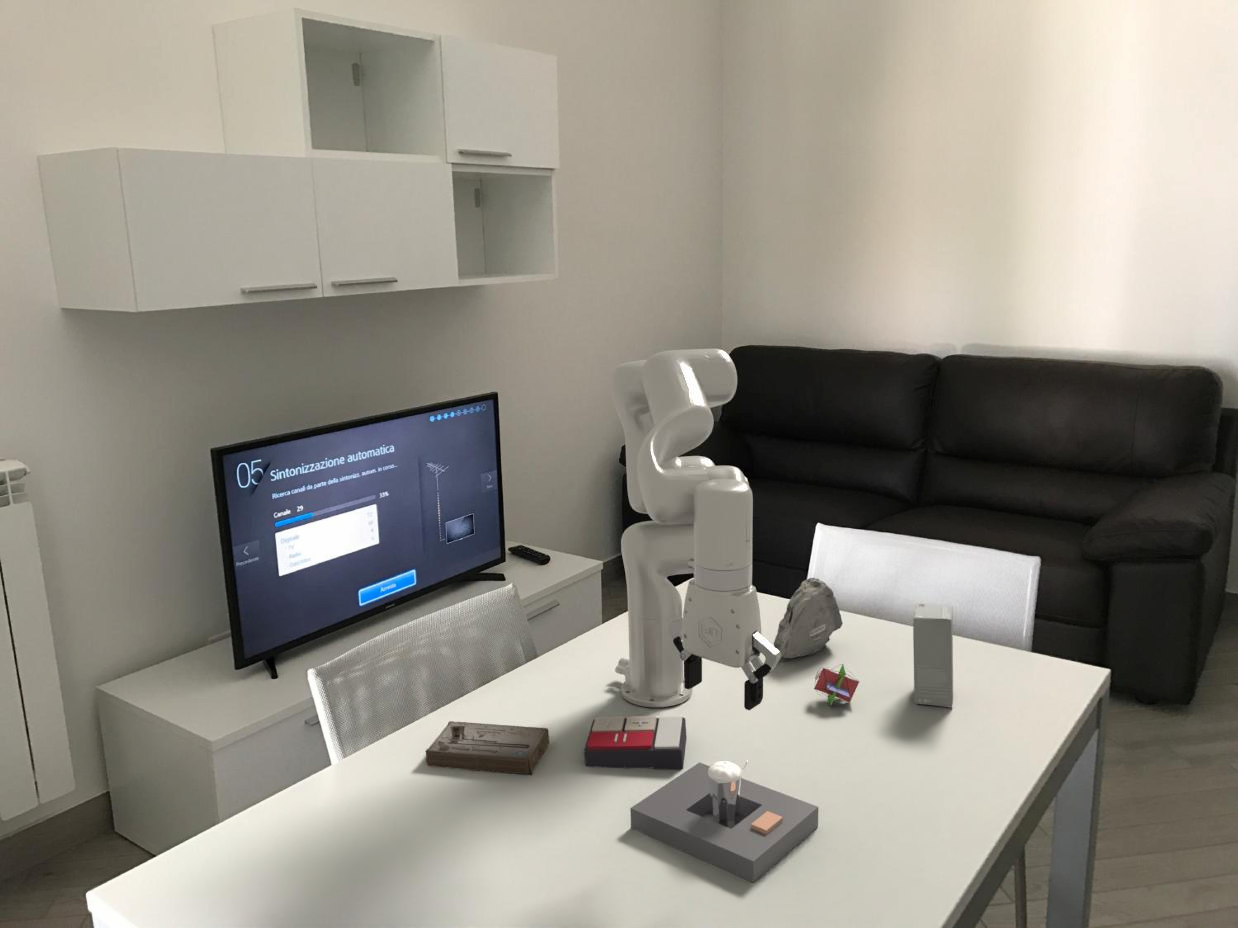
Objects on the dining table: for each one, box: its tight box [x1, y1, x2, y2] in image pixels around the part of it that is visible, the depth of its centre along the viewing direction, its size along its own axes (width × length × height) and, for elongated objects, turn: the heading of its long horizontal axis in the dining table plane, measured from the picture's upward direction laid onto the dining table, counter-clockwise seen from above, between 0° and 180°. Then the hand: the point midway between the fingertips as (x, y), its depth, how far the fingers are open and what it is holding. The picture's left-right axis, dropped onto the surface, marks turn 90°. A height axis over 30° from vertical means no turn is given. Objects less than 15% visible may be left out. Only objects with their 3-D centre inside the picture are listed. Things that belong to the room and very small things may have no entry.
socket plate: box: [629, 762, 819, 883], centre depth 141 cm, size 20×16×4 cm
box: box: [425, 720, 550, 775], centre depth 163 cm, size 11×17×3 cm, turn 77°
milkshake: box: [708, 760, 749, 829], centre depth 140 cm, size 4×5×10 cm
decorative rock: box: [773, 577, 843, 659], centre depth 198 cm, size 16×7×15 cm, turn 124°
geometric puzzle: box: [813, 663, 860, 708], centre depth 177 cm, size 7×7×8 cm
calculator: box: [583, 715, 687, 771], centre depth 162 cm, size 11×4×15 cm
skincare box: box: [912, 603, 954, 708], centre depth 177 cm, size 8×7×16 cm
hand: (722, 695), depth 137 cm, fingers open, 9 cm apart
